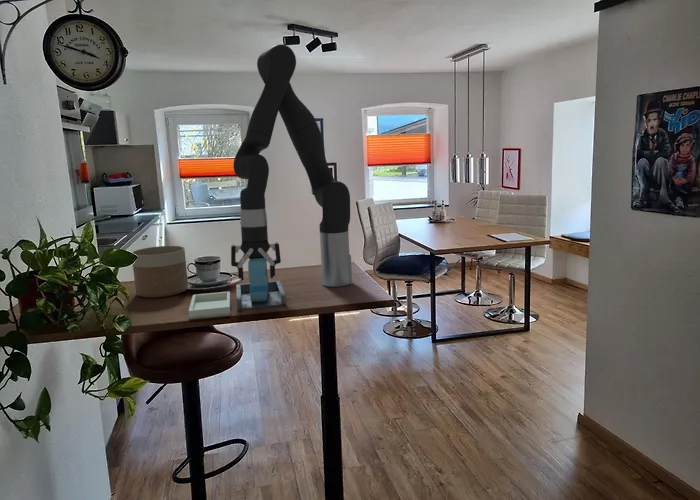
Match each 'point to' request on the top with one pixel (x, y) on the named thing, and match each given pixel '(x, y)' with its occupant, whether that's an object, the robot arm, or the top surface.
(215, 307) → the tray
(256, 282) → the blue flat block
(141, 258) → the planter
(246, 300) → the bay
